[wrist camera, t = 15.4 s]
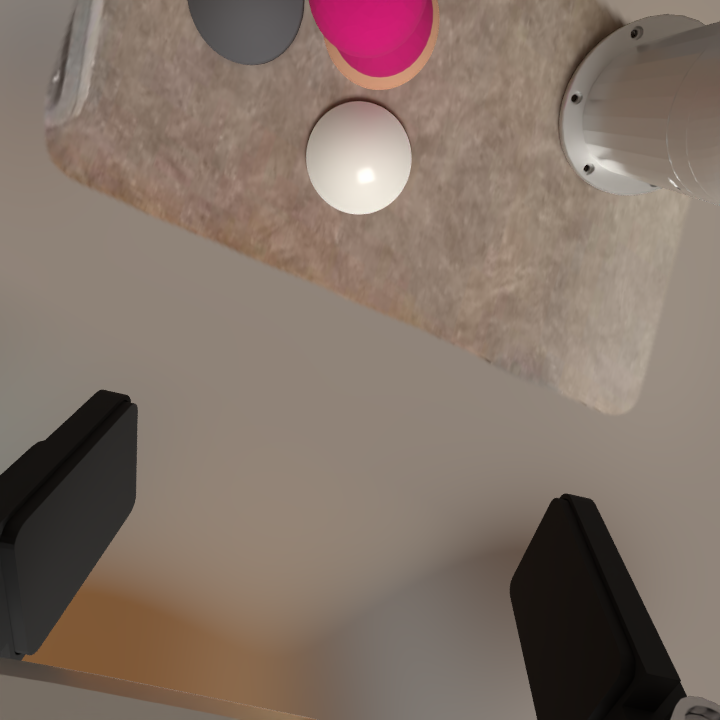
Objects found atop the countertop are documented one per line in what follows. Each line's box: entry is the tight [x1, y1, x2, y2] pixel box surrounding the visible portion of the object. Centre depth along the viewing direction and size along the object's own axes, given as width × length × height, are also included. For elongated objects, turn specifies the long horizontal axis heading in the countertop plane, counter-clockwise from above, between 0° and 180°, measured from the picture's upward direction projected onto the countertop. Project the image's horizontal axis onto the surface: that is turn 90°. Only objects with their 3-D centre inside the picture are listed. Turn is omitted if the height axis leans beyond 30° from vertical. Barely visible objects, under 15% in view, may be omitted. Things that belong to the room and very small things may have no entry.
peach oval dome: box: [324, 0, 439, 90], centre depth 40 cm, size 9×9×1 cm
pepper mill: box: [309, 0, 433, 78], centre depth 30 cm, size 7×7×20 cm
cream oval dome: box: [306, 101, 411, 214], centre depth 44 cm, size 9×9×1 cm
